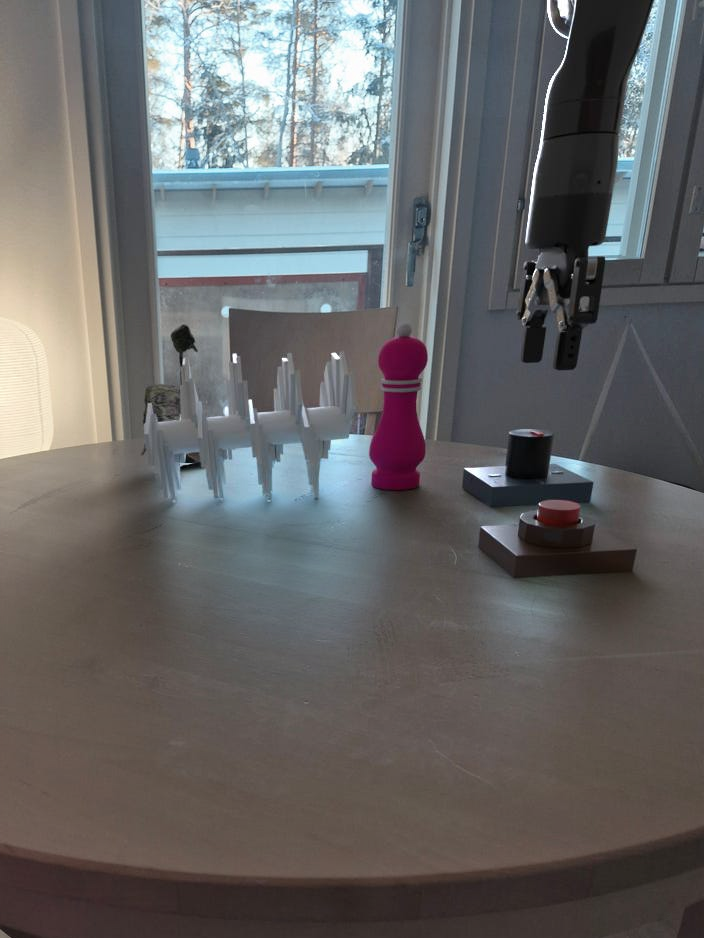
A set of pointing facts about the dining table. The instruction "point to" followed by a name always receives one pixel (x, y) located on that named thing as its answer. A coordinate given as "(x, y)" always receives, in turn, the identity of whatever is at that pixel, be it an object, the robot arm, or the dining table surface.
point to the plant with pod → (171, 389)
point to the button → (558, 512)
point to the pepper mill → (399, 414)
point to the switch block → (555, 548)
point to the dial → (528, 453)
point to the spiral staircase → (252, 426)
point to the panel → (525, 487)
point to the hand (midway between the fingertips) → (546, 366)
